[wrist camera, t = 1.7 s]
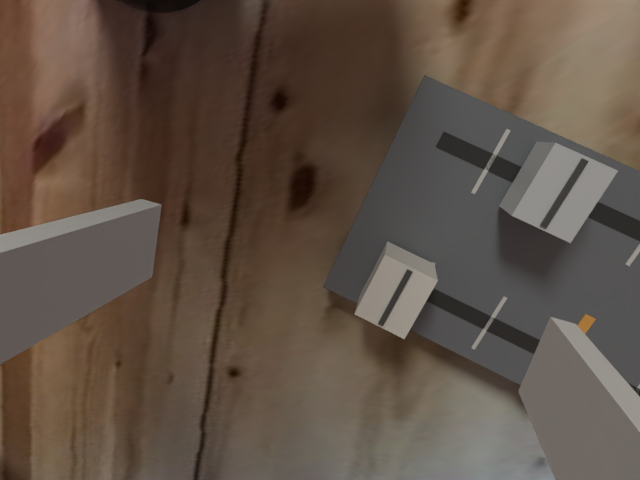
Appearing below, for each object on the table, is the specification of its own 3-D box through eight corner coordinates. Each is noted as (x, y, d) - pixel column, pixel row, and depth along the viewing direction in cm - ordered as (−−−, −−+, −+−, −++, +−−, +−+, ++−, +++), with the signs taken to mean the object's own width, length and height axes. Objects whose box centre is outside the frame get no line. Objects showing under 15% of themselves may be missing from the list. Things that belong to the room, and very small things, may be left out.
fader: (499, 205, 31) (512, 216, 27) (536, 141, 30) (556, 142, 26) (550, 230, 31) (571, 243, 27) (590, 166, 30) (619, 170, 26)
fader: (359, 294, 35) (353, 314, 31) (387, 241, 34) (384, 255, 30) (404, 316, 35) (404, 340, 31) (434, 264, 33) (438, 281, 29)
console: (326, 280, 39) (320, 292, 36) (423, 80, 33) (424, 74, 31) (643, 437, 37) (663, 463, 34) (801, 249, 31) (842, 261, 28)
